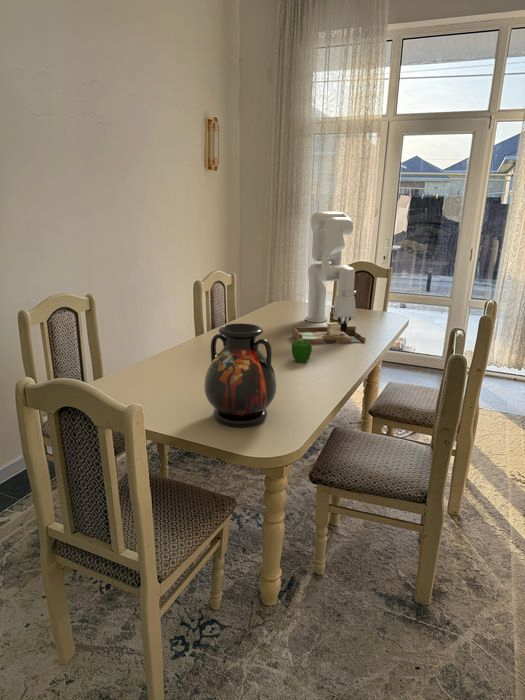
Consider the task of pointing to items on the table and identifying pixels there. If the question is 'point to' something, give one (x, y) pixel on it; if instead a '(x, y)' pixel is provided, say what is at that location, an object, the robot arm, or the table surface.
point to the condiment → (332, 317)
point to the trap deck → (327, 335)
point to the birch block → (333, 328)
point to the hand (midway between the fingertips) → (343, 330)
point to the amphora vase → (240, 376)
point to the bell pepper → (301, 350)
